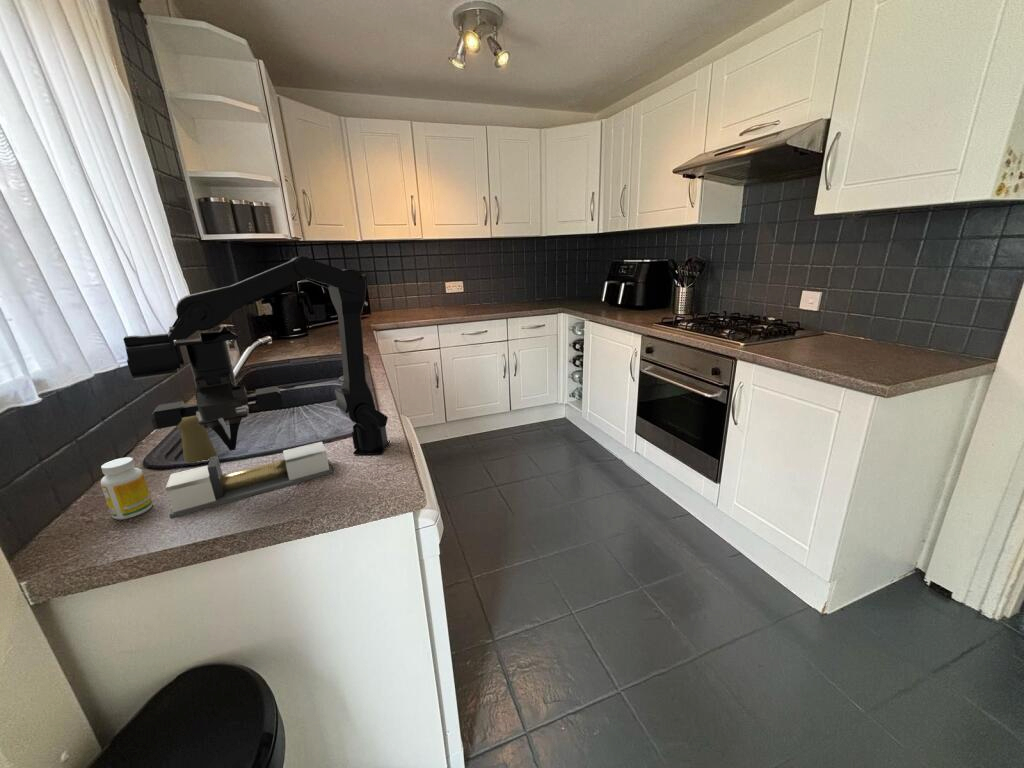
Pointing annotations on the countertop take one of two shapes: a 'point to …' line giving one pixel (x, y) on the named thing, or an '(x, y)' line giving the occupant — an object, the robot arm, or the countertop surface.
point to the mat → (251, 490)
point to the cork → (195, 440)
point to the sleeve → (306, 460)
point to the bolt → (242, 475)
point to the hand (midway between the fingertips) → (233, 449)
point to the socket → (190, 488)
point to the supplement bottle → (125, 488)
